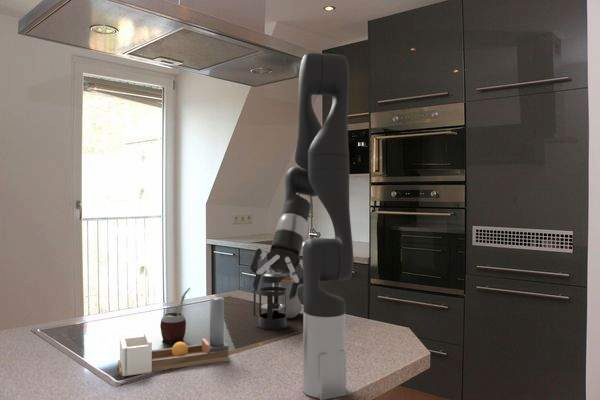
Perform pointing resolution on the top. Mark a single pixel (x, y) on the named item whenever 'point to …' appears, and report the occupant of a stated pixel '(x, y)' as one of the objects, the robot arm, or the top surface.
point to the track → (183, 358)
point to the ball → (179, 349)
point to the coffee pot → (292, 305)
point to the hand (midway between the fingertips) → (273, 295)
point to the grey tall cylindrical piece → (216, 327)
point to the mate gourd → (173, 326)
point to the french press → (272, 303)
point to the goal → (136, 355)
